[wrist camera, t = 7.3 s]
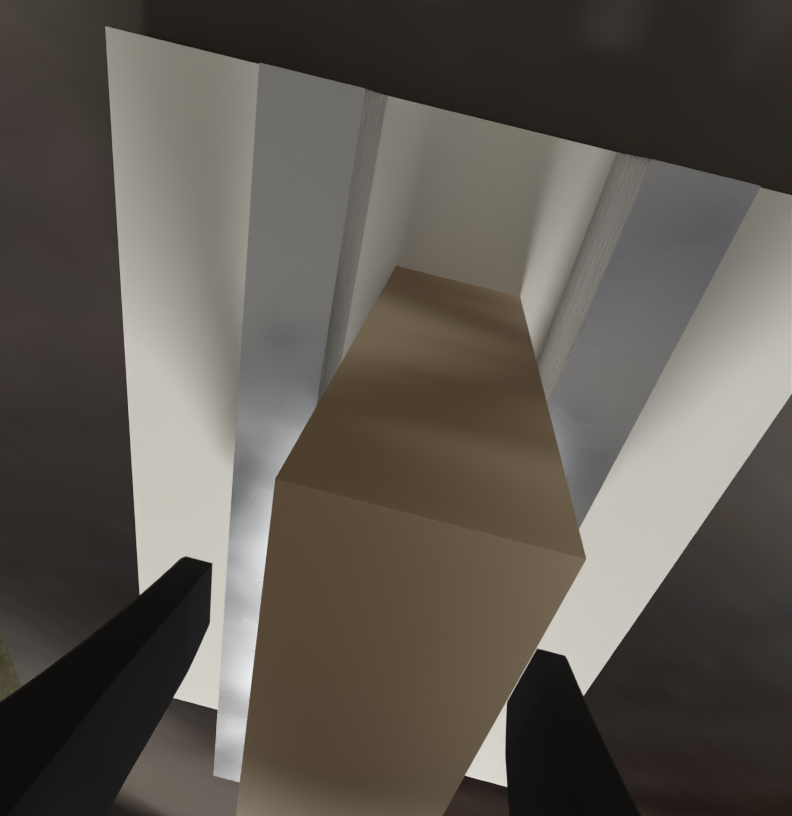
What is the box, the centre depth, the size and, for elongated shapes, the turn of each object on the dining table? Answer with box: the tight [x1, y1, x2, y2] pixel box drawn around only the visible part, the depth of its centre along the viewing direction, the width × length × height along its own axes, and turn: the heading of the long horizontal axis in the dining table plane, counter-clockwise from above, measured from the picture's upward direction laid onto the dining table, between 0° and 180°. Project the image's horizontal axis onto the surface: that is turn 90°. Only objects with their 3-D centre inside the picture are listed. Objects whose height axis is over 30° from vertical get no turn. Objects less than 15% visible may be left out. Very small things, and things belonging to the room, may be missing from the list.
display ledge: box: [105, 26, 792, 787], centre depth 13 cm, size 14×20×3 cm
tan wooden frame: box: [236, 266, 586, 816], centre depth 11 cm, size 3×14×7 cm, turn 168°
